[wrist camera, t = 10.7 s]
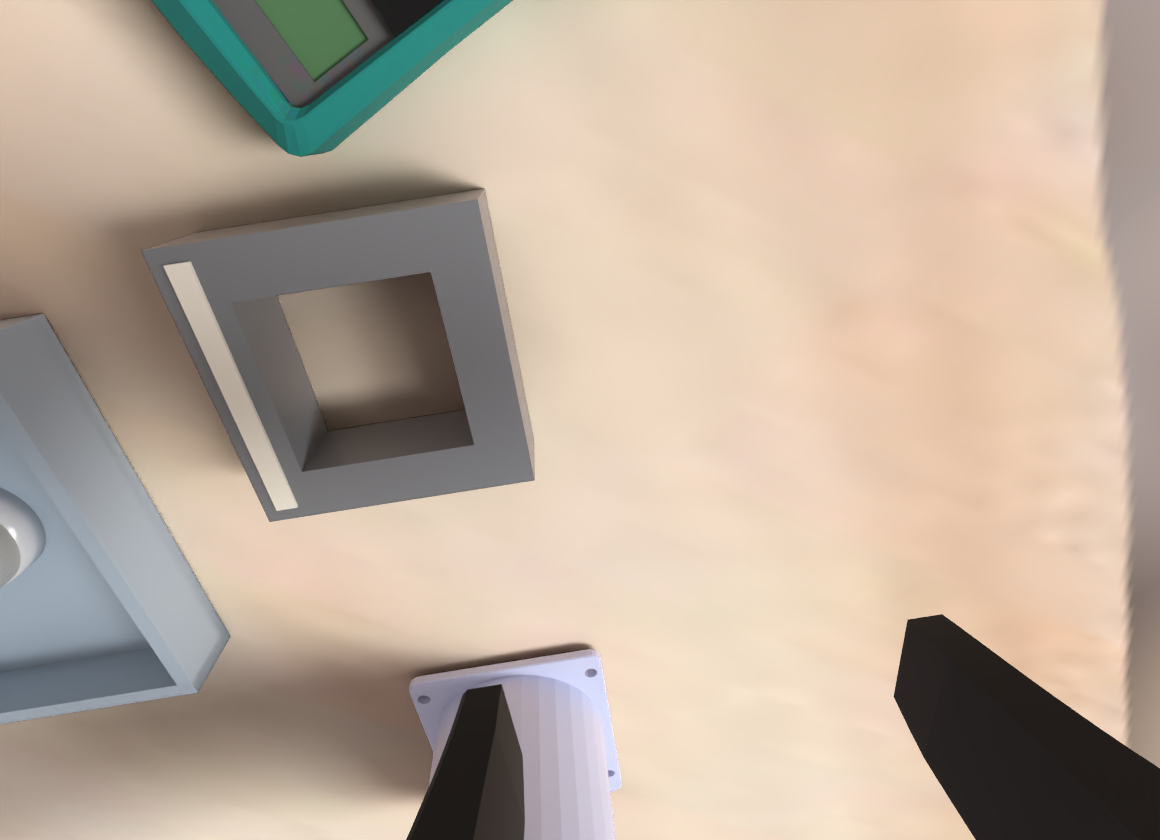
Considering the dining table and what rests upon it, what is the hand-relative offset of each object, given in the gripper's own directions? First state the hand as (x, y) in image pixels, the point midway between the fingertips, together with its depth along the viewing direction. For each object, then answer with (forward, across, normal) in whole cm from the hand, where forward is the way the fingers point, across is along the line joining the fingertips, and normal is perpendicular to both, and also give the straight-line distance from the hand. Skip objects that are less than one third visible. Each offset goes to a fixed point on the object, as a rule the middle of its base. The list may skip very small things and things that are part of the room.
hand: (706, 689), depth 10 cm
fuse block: (+10, +7, -4) cm, 13 cm away
